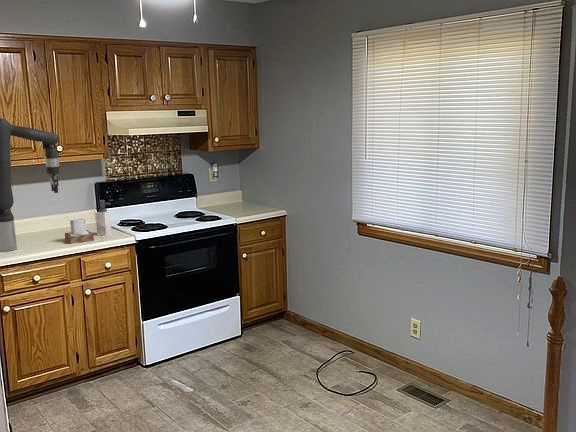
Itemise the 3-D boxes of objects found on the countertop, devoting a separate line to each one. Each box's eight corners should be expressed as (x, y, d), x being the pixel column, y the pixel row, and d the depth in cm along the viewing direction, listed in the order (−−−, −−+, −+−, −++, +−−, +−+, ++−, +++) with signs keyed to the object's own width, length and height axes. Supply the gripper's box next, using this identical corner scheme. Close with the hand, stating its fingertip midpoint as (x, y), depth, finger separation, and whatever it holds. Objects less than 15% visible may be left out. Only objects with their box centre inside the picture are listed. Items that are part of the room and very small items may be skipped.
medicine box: (83, 231, 360) (81, 218, 359) (86, 232, 357) (85, 219, 356) (71, 234, 355) (69, 220, 353) (74, 235, 352) (73, 221, 350)
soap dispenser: (109, 235, 367) (106, 201, 363) (97, 235, 370) (94, 201, 365) (115, 233, 373) (112, 199, 369) (103, 232, 376) (100, 199, 371)
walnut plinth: (70, 243, 348) (69, 237, 347) (65, 239, 359) (64, 232, 359) (93, 240, 355) (93, 233, 354) (88, 236, 367) (87, 229, 366)
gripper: (44, 165, 357) (46, 191, 360) (48, 167, 345) (50, 194, 348) (56, 164, 360) (59, 190, 364) (61, 166, 349) (63, 192, 352)
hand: (54, 191), depth 356 cm, fingers open, 8 cm apart
